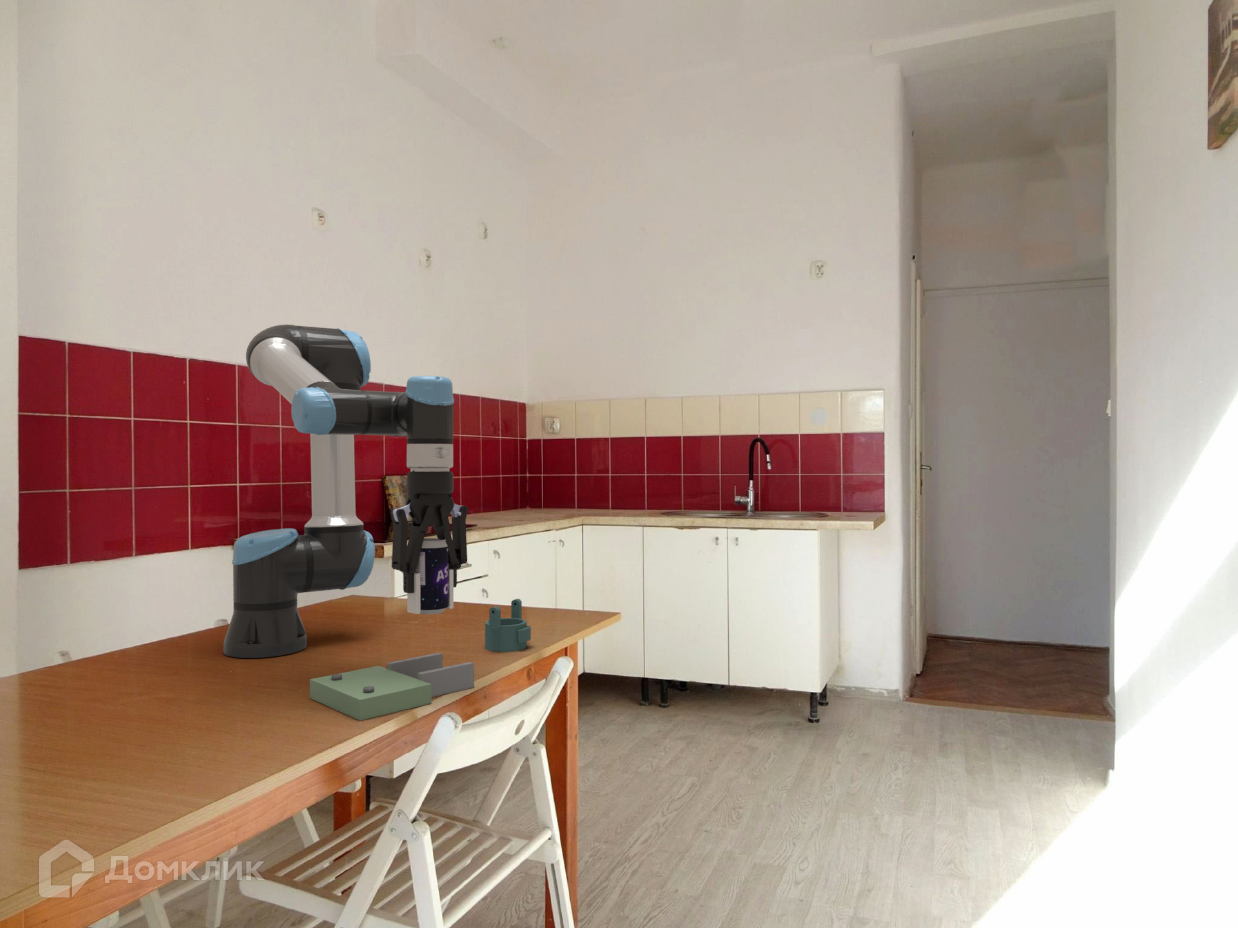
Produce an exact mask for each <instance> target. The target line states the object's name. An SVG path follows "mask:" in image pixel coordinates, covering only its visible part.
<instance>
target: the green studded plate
mask: <svg viewBox="0 0 1238 928" xmlns="http://www.w3.org/2000/svg"><path fill="white" fill-rule="evenodd" d="M443 658H444V657H443V653H440V652H435V653H430V654H426V655H420V656H416V657H409V658H405V659H401V660H395V661H390V662H387V663H386V667H384V666H380V665H377V666H376V665H375V666H371V667H366V668H361V669H360V668H359V669H356V670H355V669H354V670H351V671H345V672H340V673H334V674H330V675H324V676H320V677H314V678H311V679H310V678H309V699H311V700H314V701H315V702H318V703H320V704H322V705H324V706H327V707H329V708H331V709H334V710H336V711H337V712H340V713H342V714H345V715H346V716H349V717H351V718H354V719H356V720H358V721H360V722H361V721H363V720H364V721H365V720H368V719H371V718H376V717H382V716H384V715H389V714H393V713H397V712H402V711H405V710H409V709H413V708H417V707H423V706H426V705H430V704H432V699H433V698H434V697H435V698H436V697H438V696H443V695H447V694H450V693H455V692H459V691H464V690H467V689H473V688H475V663H474V662H473V661H472V662H471V661H467V662H462V663H458V664H454V665H448V666H444V667H443Z"/></svg>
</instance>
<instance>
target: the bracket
mask: <svg viewBox="0 0 1238 928" xmlns="http://www.w3.org/2000/svg"><path fill="white" fill-rule="evenodd" d="M510 602H511V603H510V609H511V610H510V612H511V613H510V617H501V615H502V613H501V611H502V609H501V607H500V606H496V605H495V606H493V607H491V608H489V611H488V612H489V614H488V615H489V616H488V620H485V622H484V648H485V650H486V651H489V652H496V653H497V652H498V653H511V652H512V653H513V652H519V651H523V650H525V649H527V646H528V644H527V643H528V642H529V641H531V639H532V636H531V634H532V633H531V632H532V626H531V625H527V624H528V623H527V620H526V619H523V617H522V613H523V612H522V608H523V607H522V603H523V602H522V600H521V599H520V598H515V599H513V600H511V601H510Z"/></svg>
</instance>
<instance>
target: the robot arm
mask: <svg viewBox="0 0 1238 928" xmlns="http://www.w3.org/2000/svg"><path fill="white" fill-rule="evenodd" d="M245 360H246V365H247V368H248V369H249V371H250V373H251V374H252V375H253V376H254V377H255V378H256V380H258V381H259V382H261V383H262V384H264V385H267V386H270V387H273V388H274V389H275V390H276V391H277V392H278V393H279V394H280V395H281V396H282V397H283V398H285V400H286V401H287V402H289V403H290V405H291V420H292V422H293V425H294V428H295V429H296V430H297V432H299V433H302V434H310V478H311V480H310V481H311V517H310V518H309V520H308V521H307V522H306V523H305V524H304V534H301V535H300V534H299V533H298V531H297V529H296V528H288V527H287V528H279V529H278V528H277V529H269V530H262V531H257V532H253V533H252V532H251V533H249V534H246V535H245V534H244V535H242V536H240V537H239V538H238V539H236V541H235V542H234V543H233V544H234V545H233V552H232V561H231V565H232V566H233V567H232V571H233V572H232V574H233V576H232V577H233V579H232V581H233V582H232V583H233V584H232V588H233V591H232V592H233V597H232V598H233V599H232V601H233V612H232V615H231V619H230V622H229V625H228V628H227V631H226V633H225V637H224V640H223V654H224V655H225V656H227V657H232V658H240V659H259V658H262V659H263V658H272V657H279V656H285V655H291V654H294V653H297V652H300V651H303V650H305V649H306V648H307V647H308V642H307V641H308V637H307V633H306V629H305V627H304V624H303V621H302V618H301V616H300V612H299V610H298V594H303V593H314V592H324V591H333V590H340V591H341V590H342V591H343V590H347V589H350V588H351V589H352V588H357V587H361V586H362V585H363V584H364V583H366V582H367V580H368V579H369V577H370V576H371V574H372V571H373V568H374V563H375V556H376V554H375V553H376V548H375V547H376V545H375V542H374V538H373V535H372V534H371V533H370V532H369V531H366V530H364V522H363V521H362V520H361V519H359V518H358V517H357V513H356V475H355V474H356V471H355V468H356V466H355V436H356V435H357V436H358V435H360V436H361V435H363V436H364V435H365V436H367V435H368V436H390V437H405V436H406V467H407V469H410V471H408V473H406V493H407V496H408V497H407V501H406V503H405V505H404V506H401V507H398V508H396V507H395V508H392V509H390V516H391V520H392V525H393V527H392V529H393V530H392V546H391V547H392V550H391V553H392V554H391V568H392V569H393V570H396V571H399V572H401V573H402V580H403V581H402V583H403V584H402V585H403V586H402V588H403V589H402V591H403V593H404V594H406V595H407V596H406V598H407V599H406V600H407V603H406V604H407V606H406V608H407V609H406V610H407V613H409V614H413V615H414V614H415V615H421V614H420V573H415V572H416V568H417V564H418V560H419V556H420V552H421V548H422V544H423V540H424V539H425V535H426V533H428V530H429V528H431V527H432V528H433V530H434V531H435V534H436V538H439V539H440V540H445V539H446V541H445V542H446V544H447V546H448V607H447V608H446V609H449V610H452V609H454V608H455V607H454V588H457V585H458V574H457V573H458V570H460V569H461V567H462V565H465V564H467V563H468V544H467V543H468V541H467V522H466V521H467V516H468V512H469V506H467V505H459V504H457V503H455V501H454V500H453V497H452V495H453V492H454V473H453V471H450V469H452V468H453V467H454V403H455V398H454V391H453V389H454V388H453V382H452V379H450V378H448V377H445V376H439V375H415V376H414V375H413V376H410V377H409V378H408V379H407V381H406V387H405V388H406V389H405V391H385V390H384V391H382V390H380V391H379V390H363V389H361V388H362V387H364V386H366V385H367V384H368V382H369V380H370V376H371V375H370V374H371V370H372V366H371V365H372V363H371V362H372V361H371V357H370V352H369V348H368V346H367V343H366V342H365V340H364V339H363V336H361V335H360V334H359V333H357V332H355V331H351V330H345V329H340V328H337V327H336V328H332V327H331V328H328V327H318V326H305V325H295V324H278V325H274V326H270V327H268V328H265V329H263V330H262V331H260V332H259V333H258V332H257V334H256V335H254V336H253V338H251V341H250V342H249V344H248V345H247V348H246V352H245ZM450 515H451V524H450V518H449V516H450ZM410 517H411V522H410V526H409V524H408V519H409V518H410ZM408 526H409V528H408ZM408 530H409V531H410V533H409V532H408ZM408 533H409V537H408Z"/></svg>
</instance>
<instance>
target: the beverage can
mask: <svg viewBox="0 0 1238 928" xmlns="http://www.w3.org/2000/svg"><path fill="white" fill-rule="evenodd" d="M445 541H446V539H445V540H440V539H439V538H437V537H434V538H433V537H430V538H425V537H424V540H423V544H422V548H421V552H420V556H419V560H418V564H417V568H416V572H415V573H420V614H419V615H436V614H437V615H438V614H442V613H443V612H445V610H446V609H447V607H448V546H447V544H446V542H445Z"/></svg>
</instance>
